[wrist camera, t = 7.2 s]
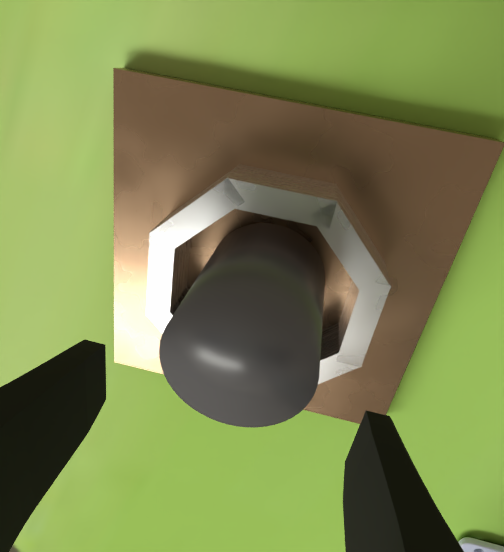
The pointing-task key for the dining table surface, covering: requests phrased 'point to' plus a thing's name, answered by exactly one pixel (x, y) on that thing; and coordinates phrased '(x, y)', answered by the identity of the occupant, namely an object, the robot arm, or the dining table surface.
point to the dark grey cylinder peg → (249, 329)
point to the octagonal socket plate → (290, 217)
